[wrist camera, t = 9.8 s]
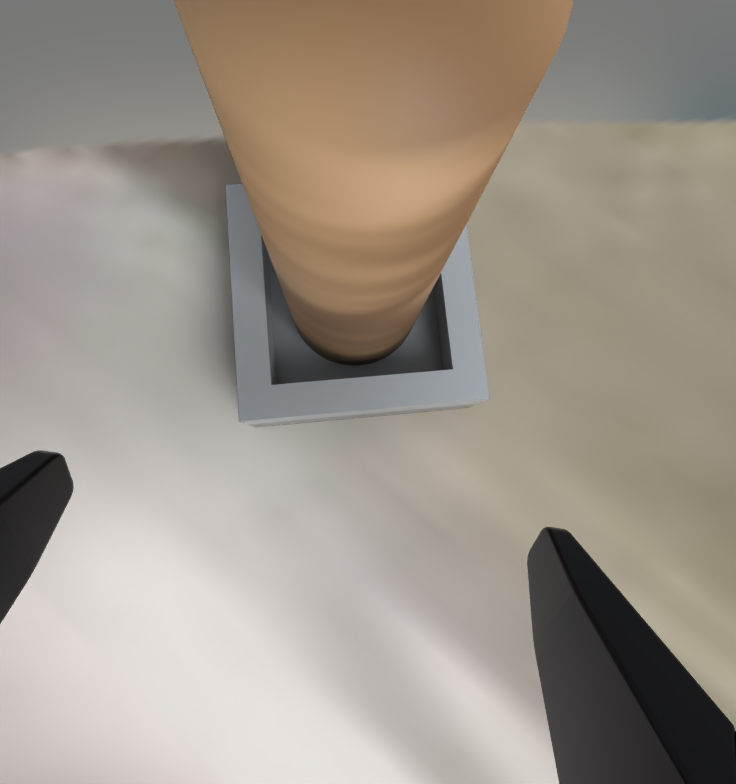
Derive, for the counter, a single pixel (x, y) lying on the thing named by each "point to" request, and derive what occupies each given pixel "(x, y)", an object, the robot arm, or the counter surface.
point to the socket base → (337, 381)
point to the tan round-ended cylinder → (367, 141)
